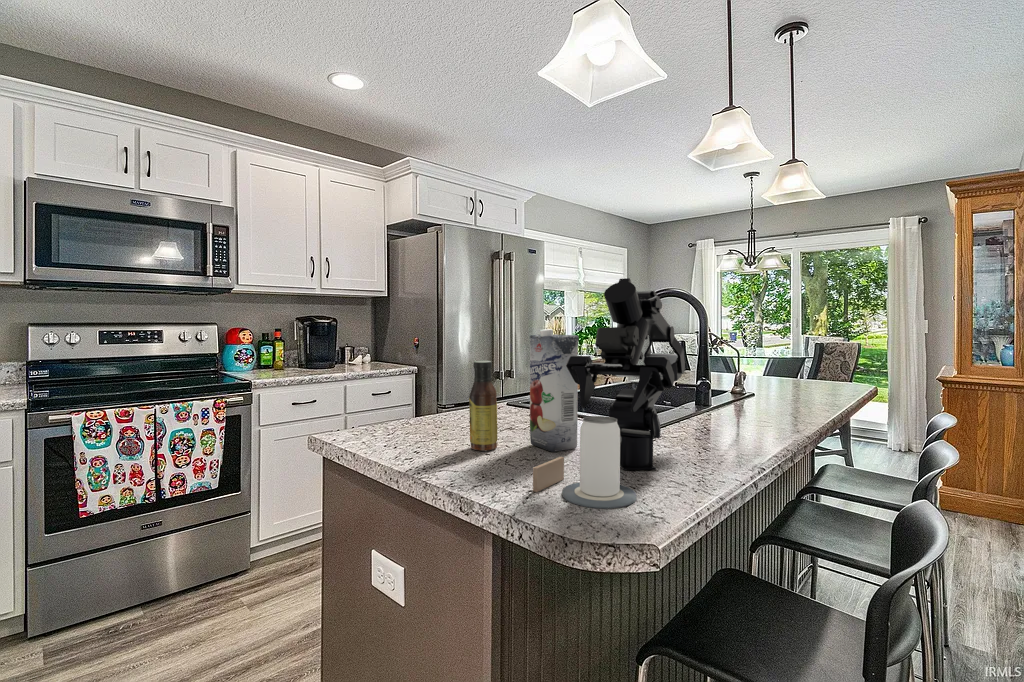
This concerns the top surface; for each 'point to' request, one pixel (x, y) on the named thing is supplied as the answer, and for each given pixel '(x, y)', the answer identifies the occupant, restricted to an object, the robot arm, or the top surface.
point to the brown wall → (548, 474)
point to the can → (600, 456)
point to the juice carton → (553, 391)
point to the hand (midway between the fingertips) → (606, 408)
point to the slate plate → (579, 498)
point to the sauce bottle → (483, 409)
